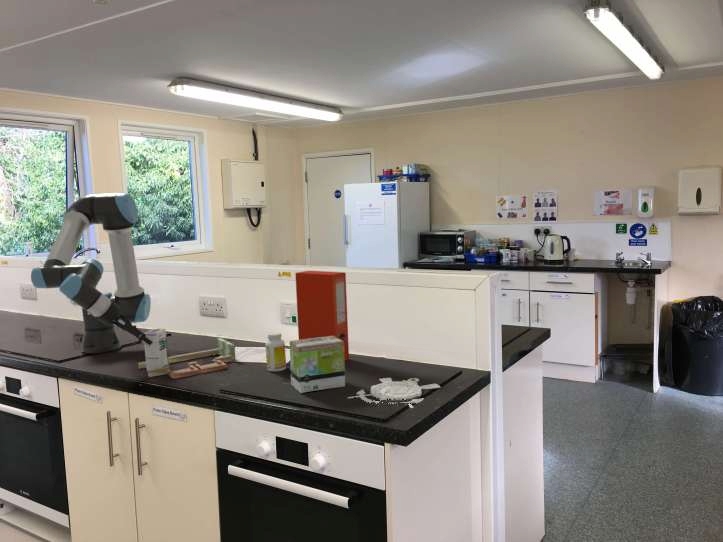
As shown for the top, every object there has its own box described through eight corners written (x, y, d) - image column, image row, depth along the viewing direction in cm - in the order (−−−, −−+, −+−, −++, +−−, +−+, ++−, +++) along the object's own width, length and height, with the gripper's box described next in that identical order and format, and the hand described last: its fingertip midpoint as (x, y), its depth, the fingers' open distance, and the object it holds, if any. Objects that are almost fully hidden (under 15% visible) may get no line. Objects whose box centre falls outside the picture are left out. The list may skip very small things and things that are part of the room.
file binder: (313, 353, 230) (309, 270, 226) (349, 358, 220) (345, 272, 216) (299, 358, 224) (294, 272, 220) (335, 364, 213) (331, 275, 209)
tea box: (300, 394, 182) (298, 347, 180) (290, 385, 191) (288, 340, 189) (346, 386, 188) (344, 340, 186) (335, 378, 197) (332, 334, 195)
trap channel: (138, 368, 220) (137, 351, 219) (221, 352, 237) (220, 337, 236) (155, 382, 200) (153, 365, 200) (244, 364, 218) (243, 348, 217)
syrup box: (161, 372, 213) (157, 332, 211) (146, 372, 214) (142, 332, 212) (169, 367, 218) (166, 328, 216) (154, 367, 219) (151, 328, 218)
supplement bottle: (289, 367, 212) (287, 331, 210) (281, 372, 206) (278, 336, 204) (272, 366, 214) (270, 331, 213) (263, 371, 208) (261, 335, 206)
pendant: (341, 403, 174) (341, 398, 174) (386, 376, 198) (386, 372, 198) (407, 414, 164) (407, 409, 163) (447, 384, 188) (446, 380, 187)
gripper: (90, 313, 213) (137, 347, 223) (103, 323, 192) (155, 361, 202) (104, 296, 215) (150, 331, 225) (119, 305, 194) (169, 343, 204)
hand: (153, 345), depth 214 cm, fingers open, 13 cm apart
